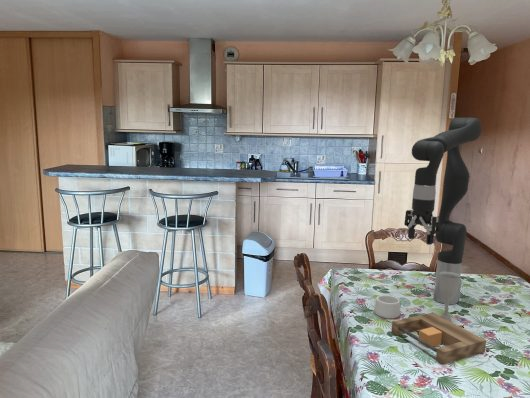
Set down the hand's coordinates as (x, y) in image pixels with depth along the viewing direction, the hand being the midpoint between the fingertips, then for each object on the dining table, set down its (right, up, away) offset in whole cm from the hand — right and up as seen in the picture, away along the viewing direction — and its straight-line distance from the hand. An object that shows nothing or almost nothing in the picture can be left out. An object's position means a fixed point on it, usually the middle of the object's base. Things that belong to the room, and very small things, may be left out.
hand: (420, 241), depth 151 cm
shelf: (+1, -32, -12) cm, 34 cm away
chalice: (+11, -30, +4) cm, 32 cm away
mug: (-9, -29, +10) cm, 32 cm away
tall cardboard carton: (-2, -33, -13) cm, 35 cm away
